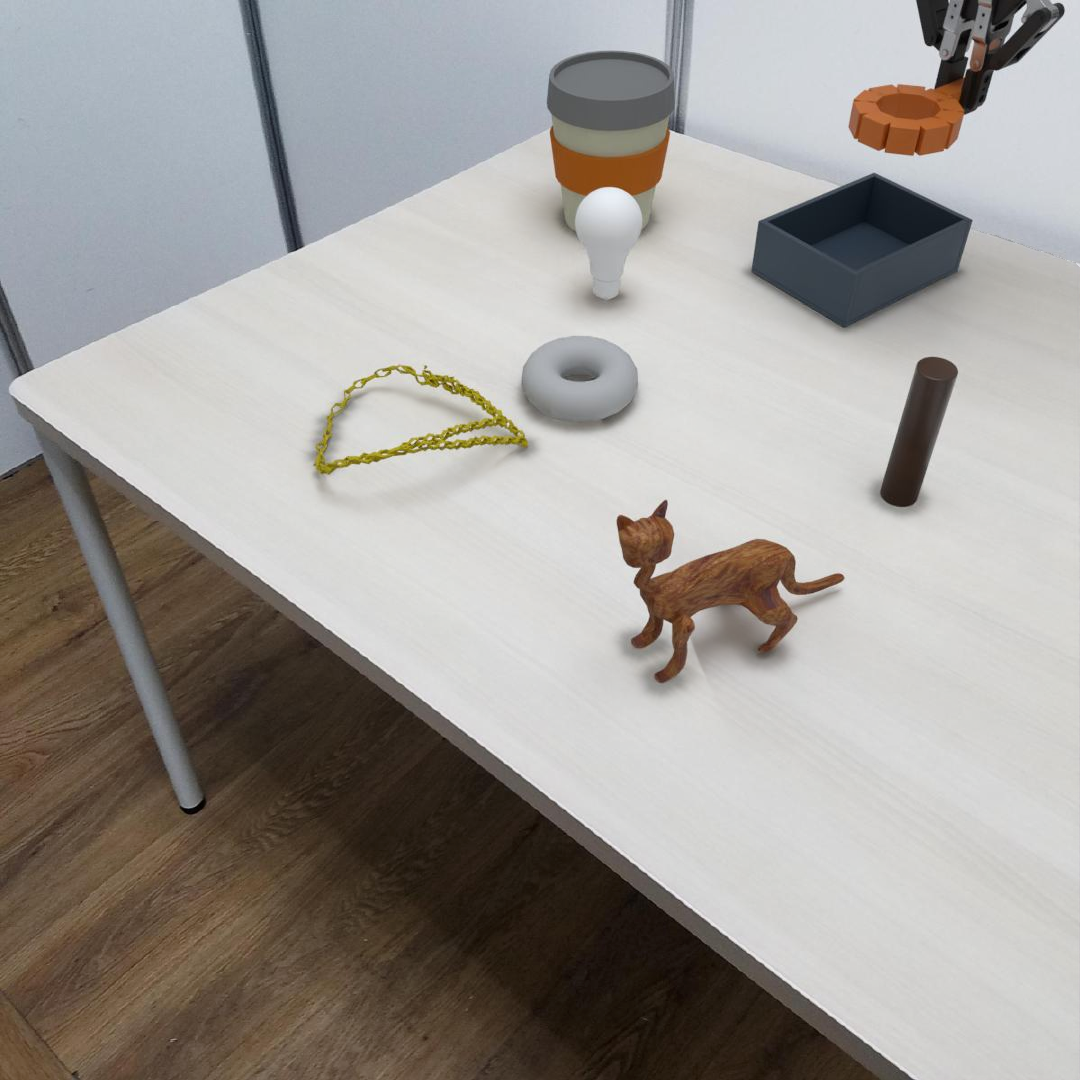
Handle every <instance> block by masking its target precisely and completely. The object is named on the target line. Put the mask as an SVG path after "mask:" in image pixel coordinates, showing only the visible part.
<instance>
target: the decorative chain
mask: <svg viewBox="0 0 1080 1080" xmlns="http://www.w3.org/2000/svg"><path fill="white" fill-rule="evenodd" d="M422 366H423V369H422V373H421V374H418V373H417V371H416V370H415V369H414V368H413V367H412V366H411V365H403V364H398V365H391V366H388V367H382V368H379V369H376V370H375V371H374V372H373V374H371V375H370V376H367V377H362V378H360V379H357V380H354V381H353V382H352V385H351V386H350V387H348V388H347V389H344V390H343V396H344V397H343V400H342V401H341V402H335V403H334V404H333V405H332V407H331V408H330V413H329V415H327V416H326V421H327V427H326V428H325V429H324V431H323V433H322V438H323V440H322V441H320V442H318V443H317V444H315V450H316V451H317V453H318V454H317V455H316V457H315V460H314V462H313V464H312V466H314V467H315V468H316V471H317V472H318V473H319V474H320V475H323V476H324V474H326V475H328V476H330V475H331V474H332V473H333V472H335V470H336V469H343V468H348V467H350V466H352V465H359V466H360V465H361V464H366V465H370V464H371V463H373V462H374V463H378V462H380V461H383V460H386V459H389V458H392V457H398V456H399V457H400V456H406V455H407V454H416V453H419V452H422V451H423V452H427V451H428V450H431V451H436V450H440V451H444V450H445V449H447V450H449V451H452V450H453V449H455V450H456V451H458V450H459V449H461V448H462V449H471V448H473V447H474V446H475V447H476V446H479V445H480V446H481V447H482V446H485V445H489V446H491V445H492V446H497V445H504V446H508V445H511V444H512V445H517V446H519V445H520V446H521V447H522V448H523V449H525V448H527V447H529V441H528V439H527V438H526V434H525V432H524V430H522V429H519V427H518V426H515V424H514V422H513V421H512V419H508V417H507V416H506V415H504V414H503V412H502V409H497V407H496V405H495V406H494V405H492V402H491V400H490V399H489V400H488V399H486V398H485V397H484V396H482V395H481V393H480V392H479V390H475V389H474V388H470V387H468V386H467V385H465V384H462V383H461V381H459V380H458V379H455V376H449V375H448V374H445V375H441V374H433V372H432V371H431V370H429V369H427V368H428V365H425V364H422ZM399 368H401V369H399ZM380 371H381V372H383V373H384V372H386V373H385V374H384V375H379V373H378V372H380ZM392 371H397V372H398V373H400V374H401V375H402V374H403V375H411V376H413V377H414V378H415V381H416V383H417V384H419V385H420V386H422V387H423V386H427V385H428V386H430V387H432V388H437V389H438V388H439V387H440V386H442V388H443V389H444V390H445V391H447V392H449V393H450V394H451V395H460V396H461V397H466V398H469V399H470V402H471V403H474V404H475V405H476V406H480V407H481V411H486V414H488V415H490V416H491V417H484V418H483V419H481V420H480V421H479V420H475V421H468V422H467V424H465V423H460V424H455V425H454V426H453V427H452V426H451V427H447V428H446V429H444V430H443V431H442V432H441V433H440V434H439V433H437V434H434V433H430V432H429V433H428V432H427V434H426V435H425V436H424V435H423V436H418V437H411V438H410V439H409V440H408V441H404V442H401V444H400V445H398V446H396V447H393V448H390V449H385V448H384V449H379V450H378V451H373V452H371V453H367V452H362V453H361V454H359V455H347V456H346V457H344V458H339V459H334V460H333V462H326V460H325V456H324V455H323V454H324V452H325V450H326V448H327V447H328V440H329V438H330V437H332V436H333V432H332V431H331V430H332V426H333V425H334V423H333V420H332V419H333V417H334V416H335V415H336V414H338V413H340V412H342V410H344V409H345V407H346V406H347V402H349V401H350V400H351V399H352V396H351V393H352V392H353V391H354V390H356V389H357V390H358V389H363V387H365V385H366V384H367V383H368V382H370V381H372V380H374V379H375V378H377V379H378V378H386V377H388V376H390V375H392ZM418 377H421V378H423V379H424V381H420V380H419V378H418ZM358 383H360V385H361V386H356V385H357V384H358ZM455 383H456V384H455ZM346 394H347V395H348V397H346ZM336 407H340V408H339V409H337V410H336V411H334V408H336ZM508 423H509V425H507V424H508ZM493 426H494V427H497V426H499V427H500V428H501V429H503V428H504V429H505V430H508V431H509V433H511V434H513V435H511V434H508V435H506V436H501V435H497V434H495V435H493V436H492V437H491V436H489V435H483V434H482V435H481V436H479V437H477V436H476V435H475V436H474V437H469V438H468V439H467V440H466V439H458V438H456V439H455V440H454V441H452V440H451V441H450V440H448V439H449V438H452V437H453V436H454V435H456V436H459V435H460V434H461V433H462V434H466V433H467V432H470V433H472V432H473V431H474V430H477V431H478V430H480V429H482V430H485V429H486V428H487V427H489V428H492V427H493ZM327 433H328V434H327ZM429 438H431V439H429ZM428 439H429V440H428ZM412 442H413V443H412ZM441 444H444V445H442V446H441ZM321 446H324V447H323V448H320V447H321Z"/></svg>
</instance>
